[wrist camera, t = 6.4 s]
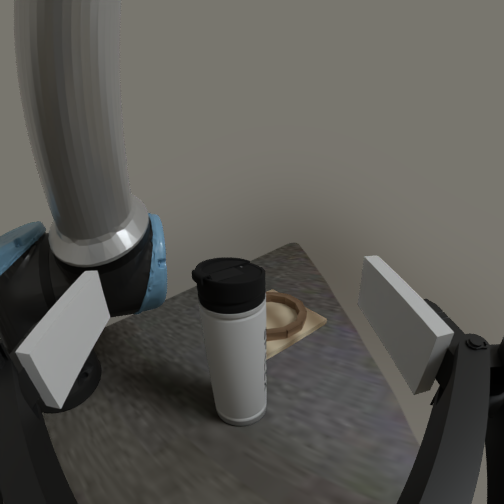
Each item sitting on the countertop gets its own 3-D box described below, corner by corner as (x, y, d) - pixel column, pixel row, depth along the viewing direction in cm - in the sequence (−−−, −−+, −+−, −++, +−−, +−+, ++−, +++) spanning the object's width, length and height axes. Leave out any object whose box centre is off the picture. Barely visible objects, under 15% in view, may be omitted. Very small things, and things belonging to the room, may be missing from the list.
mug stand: (263, 361, 42) (263, 348, 41) (212, 319, 52) (211, 307, 51) (326, 323, 50) (327, 311, 49) (272, 293, 60) (272, 282, 59)
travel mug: (204, 404, 34) (178, 262, 27) (246, 383, 38) (238, 244, 30) (233, 436, 30) (214, 289, 22) (276, 410, 33) (280, 264, 26)
